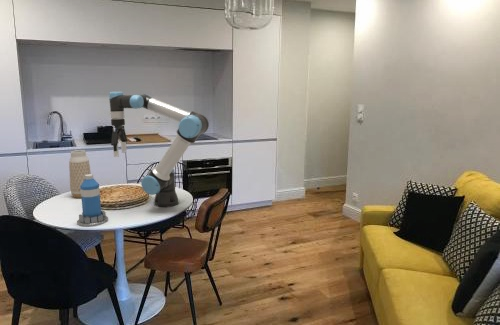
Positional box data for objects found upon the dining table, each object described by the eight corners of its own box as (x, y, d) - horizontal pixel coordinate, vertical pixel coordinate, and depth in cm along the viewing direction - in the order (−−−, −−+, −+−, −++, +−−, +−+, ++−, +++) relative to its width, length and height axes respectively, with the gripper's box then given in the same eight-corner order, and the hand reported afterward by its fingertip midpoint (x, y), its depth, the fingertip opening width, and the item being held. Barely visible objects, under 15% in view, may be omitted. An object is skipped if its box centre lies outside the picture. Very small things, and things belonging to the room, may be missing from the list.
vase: (68, 196, 269) (63, 151, 263) (88, 192, 278) (84, 148, 272) (75, 200, 259) (71, 153, 253) (96, 196, 268) (92, 151, 262)
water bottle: (91, 216, 223) (88, 172, 219) (105, 217, 220) (101, 173, 215) (79, 221, 215) (75, 176, 210) (93, 223, 212) (89, 177, 207)
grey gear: (112, 216, 225) (111, 208, 224) (101, 226, 210) (101, 218, 209) (84, 216, 226) (83, 208, 225) (71, 226, 210) (70, 218, 209)
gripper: (118, 116, 244) (121, 151, 248) (103, 120, 220) (106, 158, 224) (130, 116, 244) (133, 151, 248) (116, 120, 219) (119, 158, 223)
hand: (120, 154), depth 236 cm, fingers open, 13 cm apart
